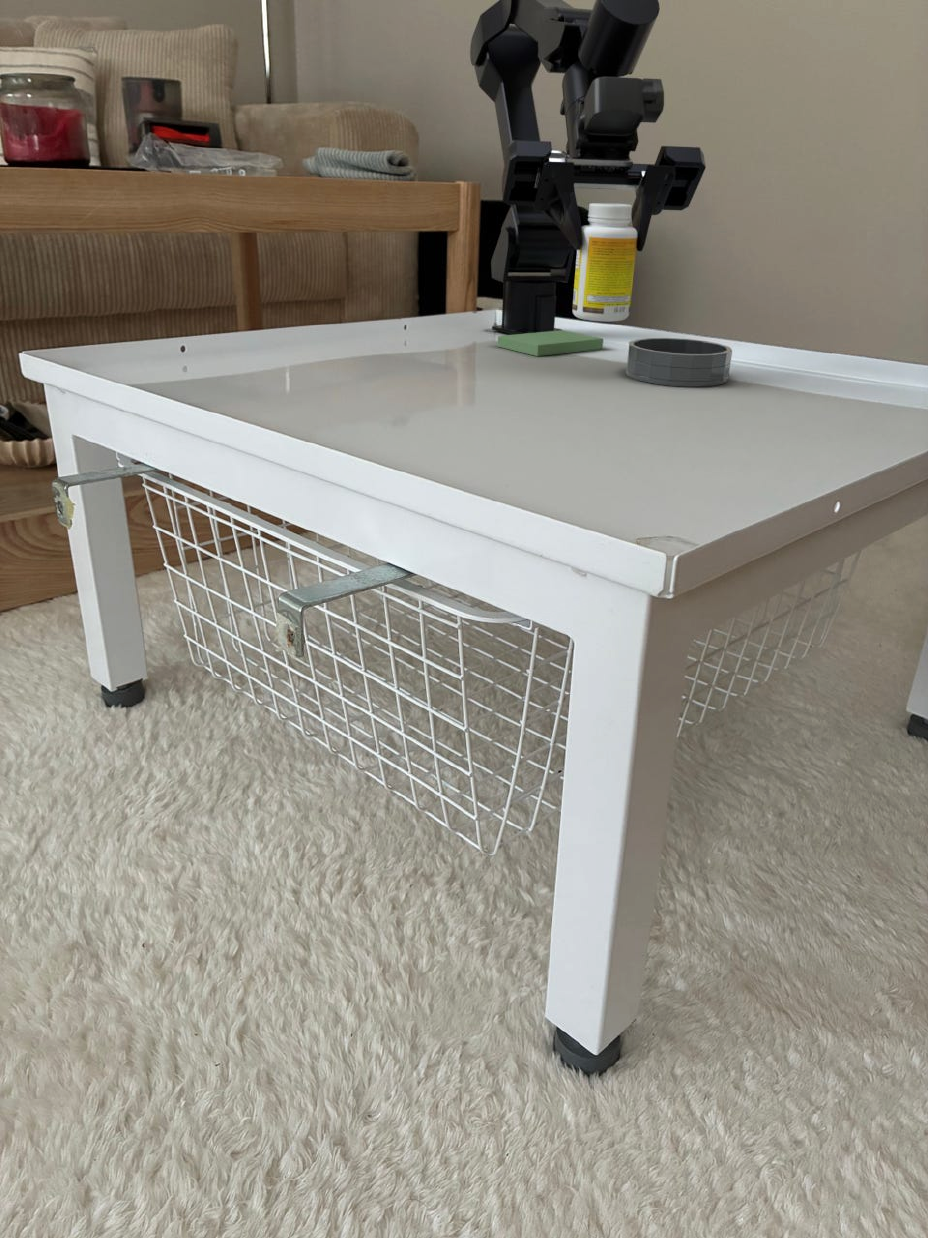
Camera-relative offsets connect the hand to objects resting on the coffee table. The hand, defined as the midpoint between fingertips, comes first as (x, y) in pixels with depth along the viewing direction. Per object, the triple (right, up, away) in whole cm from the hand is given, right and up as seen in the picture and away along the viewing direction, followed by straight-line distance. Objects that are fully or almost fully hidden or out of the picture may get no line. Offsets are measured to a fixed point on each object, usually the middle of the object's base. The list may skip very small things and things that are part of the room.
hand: (610, 247), depth 88 cm
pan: (+8, -10, +7) cm, 15 cm away
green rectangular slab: (-4, -3, +21) cm, 21 cm away
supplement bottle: (0, -5, +4) cm, 7 cm away
